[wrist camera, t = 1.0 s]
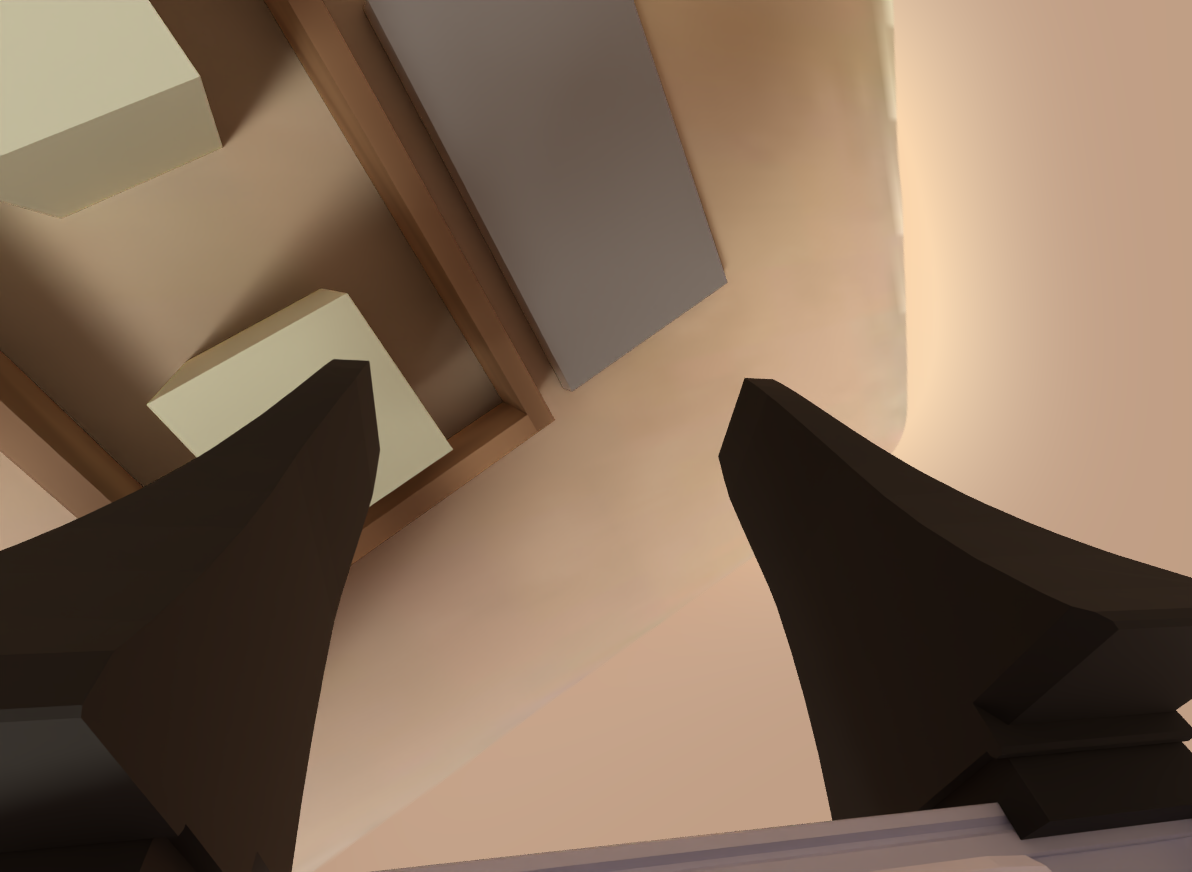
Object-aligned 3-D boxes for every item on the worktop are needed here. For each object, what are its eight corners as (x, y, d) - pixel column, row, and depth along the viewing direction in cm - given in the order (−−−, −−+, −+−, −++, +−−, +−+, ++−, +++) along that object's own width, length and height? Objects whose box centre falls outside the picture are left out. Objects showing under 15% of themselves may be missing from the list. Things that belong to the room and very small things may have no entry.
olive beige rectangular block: (288, 477, 19) (298, 564, 14) (186, 361, 17) (146, 404, 11) (402, 405, 21) (456, 455, 15) (320, 288, 19) (347, 293, 13)
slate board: (563, 388, 24) (572, 391, 23) (362, 8, 17) (366, -3, 17) (715, 282, 26) (727, 282, 26) (590, -82, 20) (601, -95, 19)
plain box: (61, 218, 15) (-66, 182, 9) (-103, 31, 13) (-398, -167, 7) (222, 147, 17) (199, 76, 11) (96, -33, 14) (-17, -245, 9)
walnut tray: (233, 610, 20) (230, 651, 17) (-512, -75, 11) (-705, -162, 8) (528, 407, 23) (554, 420, 21) (163, -231, 14) (145, -320, 12)
